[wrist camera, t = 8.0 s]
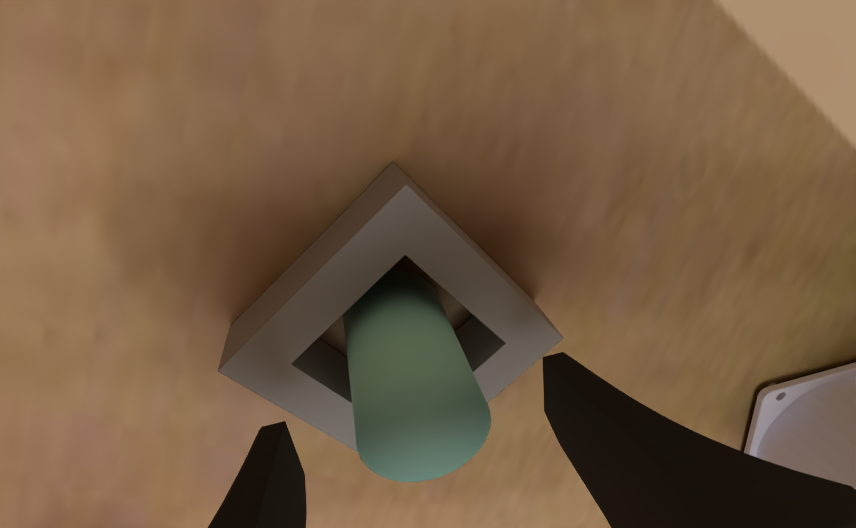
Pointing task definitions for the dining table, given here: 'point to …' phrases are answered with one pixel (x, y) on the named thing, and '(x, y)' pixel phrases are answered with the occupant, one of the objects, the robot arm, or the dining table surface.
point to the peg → (411, 383)
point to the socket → (353, 276)
